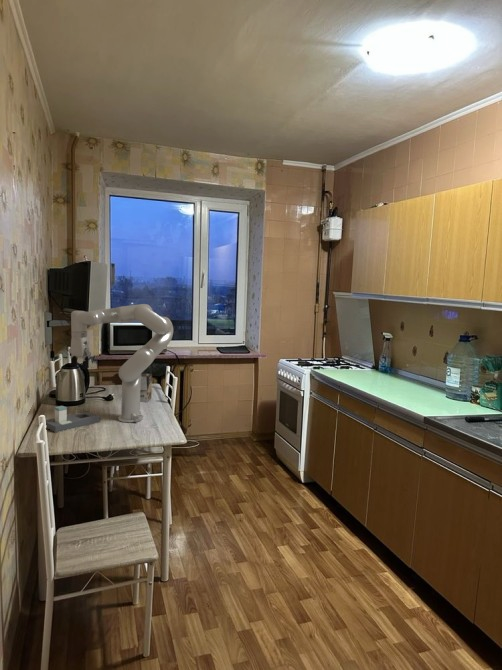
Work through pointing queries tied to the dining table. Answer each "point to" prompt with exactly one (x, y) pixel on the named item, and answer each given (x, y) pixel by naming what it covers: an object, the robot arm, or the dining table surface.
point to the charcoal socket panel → (73, 421)
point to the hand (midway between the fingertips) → (79, 367)
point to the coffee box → (146, 387)
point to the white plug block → (60, 414)
